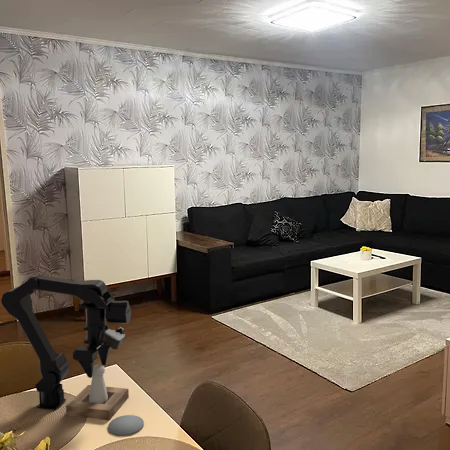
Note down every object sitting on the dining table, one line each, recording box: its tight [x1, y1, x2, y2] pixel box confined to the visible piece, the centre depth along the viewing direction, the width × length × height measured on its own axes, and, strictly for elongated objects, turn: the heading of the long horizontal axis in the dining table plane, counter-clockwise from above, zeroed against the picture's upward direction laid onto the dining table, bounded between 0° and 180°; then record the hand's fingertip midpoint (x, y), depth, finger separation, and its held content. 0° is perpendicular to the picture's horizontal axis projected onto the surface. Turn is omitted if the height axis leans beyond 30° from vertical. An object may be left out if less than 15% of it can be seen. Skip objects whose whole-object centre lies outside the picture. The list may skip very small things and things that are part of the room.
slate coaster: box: [108, 414, 145, 437], centre depth 134 cm, size 10×10×1 cm
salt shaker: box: [89, 364, 108, 404], centre depth 145 cm, size 6×6×13 cm
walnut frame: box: [65, 384, 130, 421], centre depth 145 cm, size 14×14×3 cm
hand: (97, 371), depth 144 cm, fingers open, 9 cm apart
